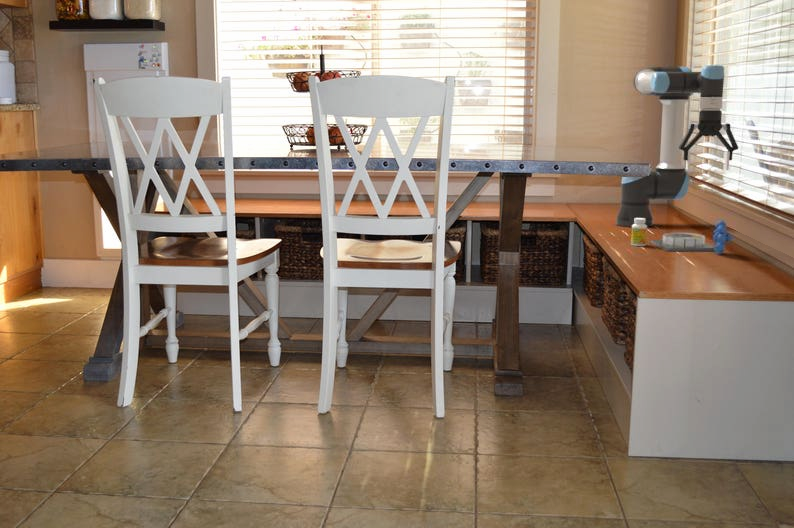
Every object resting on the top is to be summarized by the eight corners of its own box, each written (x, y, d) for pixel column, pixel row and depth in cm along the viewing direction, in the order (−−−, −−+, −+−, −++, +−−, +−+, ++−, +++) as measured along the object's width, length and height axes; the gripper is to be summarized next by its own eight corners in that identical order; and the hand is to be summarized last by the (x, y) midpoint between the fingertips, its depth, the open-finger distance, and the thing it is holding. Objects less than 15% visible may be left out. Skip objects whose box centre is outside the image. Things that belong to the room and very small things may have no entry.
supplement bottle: (630, 245, 325) (631, 219, 324) (631, 243, 330) (633, 217, 328) (645, 246, 324) (646, 219, 322) (646, 244, 328) (648, 217, 327)
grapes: (734, 257, 301) (736, 222, 299) (713, 257, 303) (715, 221, 300) (730, 251, 312) (732, 217, 310) (709, 251, 314) (711, 217, 312)
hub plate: (651, 242, 332) (651, 230, 331) (699, 242, 332) (700, 230, 331) (665, 251, 314) (666, 238, 313) (717, 250, 314) (718, 237, 314)
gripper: (677, 110, 316) (673, 170, 320) (749, 109, 314) (745, 170, 318) (672, 109, 323) (669, 168, 327) (743, 109, 321) (739, 168, 325)
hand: (707, 169), depth 323 cm, fingers open, 13 cm apart
